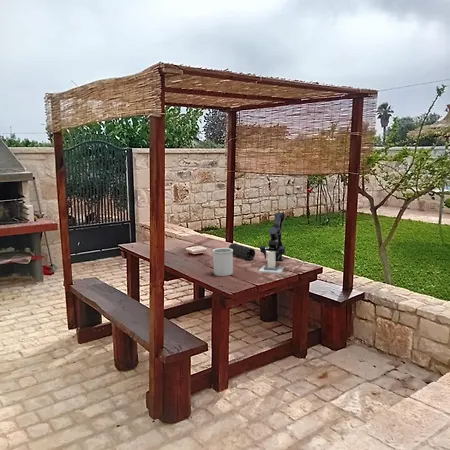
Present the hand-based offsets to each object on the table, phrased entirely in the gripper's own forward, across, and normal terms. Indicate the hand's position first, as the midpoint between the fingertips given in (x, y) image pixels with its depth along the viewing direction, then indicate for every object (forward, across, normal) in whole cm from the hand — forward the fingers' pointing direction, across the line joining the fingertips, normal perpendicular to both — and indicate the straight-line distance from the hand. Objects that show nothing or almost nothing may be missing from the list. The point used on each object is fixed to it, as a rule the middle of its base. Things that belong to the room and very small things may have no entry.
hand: (271, 259), depth 317 cm
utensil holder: (+18, -32, -5) cm, 37 cm away
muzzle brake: (-20, -32, +33) cm, 51 cm away
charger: (+4, 0, +6) cm, 8 cm away
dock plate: (+5, 0, +7) cm, 9 cm away
